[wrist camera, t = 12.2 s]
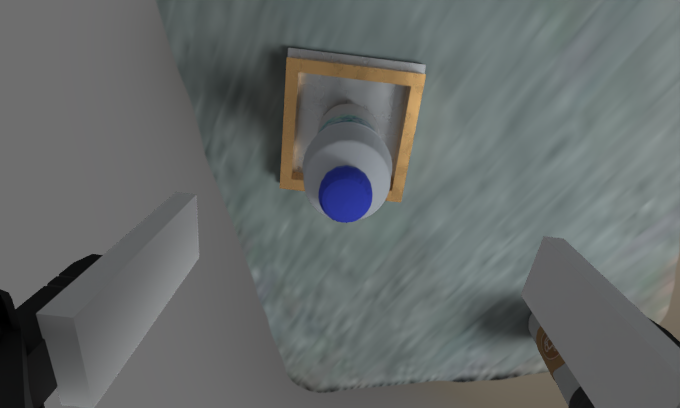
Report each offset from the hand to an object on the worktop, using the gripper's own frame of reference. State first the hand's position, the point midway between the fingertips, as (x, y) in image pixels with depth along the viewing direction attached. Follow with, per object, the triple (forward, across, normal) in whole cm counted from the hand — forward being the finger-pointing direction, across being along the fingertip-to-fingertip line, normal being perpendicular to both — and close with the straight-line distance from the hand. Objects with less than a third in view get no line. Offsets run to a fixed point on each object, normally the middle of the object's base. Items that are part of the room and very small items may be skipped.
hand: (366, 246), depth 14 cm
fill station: (+29, -1, -2) cm, 29 cm away
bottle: (+28, -1, -2) cm, 28 cm away
